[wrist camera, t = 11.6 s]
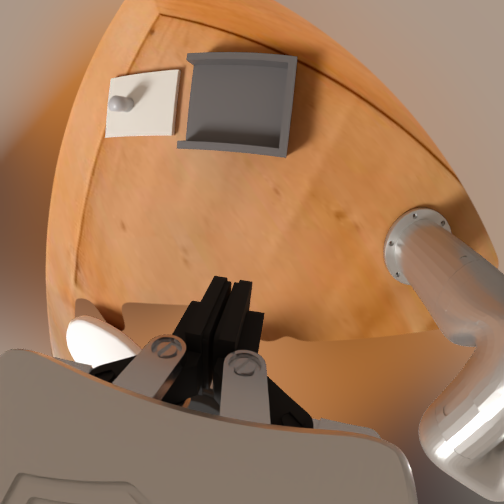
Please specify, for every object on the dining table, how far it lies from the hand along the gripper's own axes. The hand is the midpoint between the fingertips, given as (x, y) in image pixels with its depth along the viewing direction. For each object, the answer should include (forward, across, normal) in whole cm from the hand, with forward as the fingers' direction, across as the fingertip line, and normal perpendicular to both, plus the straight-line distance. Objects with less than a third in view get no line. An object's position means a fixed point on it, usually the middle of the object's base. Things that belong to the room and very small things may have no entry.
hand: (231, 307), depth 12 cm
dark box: (+27, +6, -12) cm, 30 cm away
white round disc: (+28, +32, +42) cm, 60 cm away
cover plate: (+28, +21, -12) cm, 37 cm away
